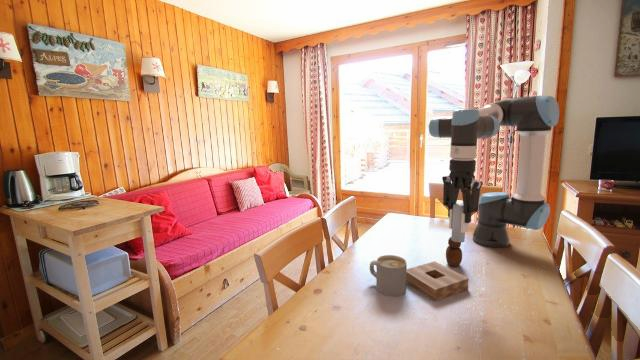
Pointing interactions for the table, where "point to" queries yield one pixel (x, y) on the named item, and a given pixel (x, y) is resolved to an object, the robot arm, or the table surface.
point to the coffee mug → (390, 274)
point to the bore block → (436, 280)
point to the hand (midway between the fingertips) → (458, 229)
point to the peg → (457, 223)
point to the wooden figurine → (453, 253)
